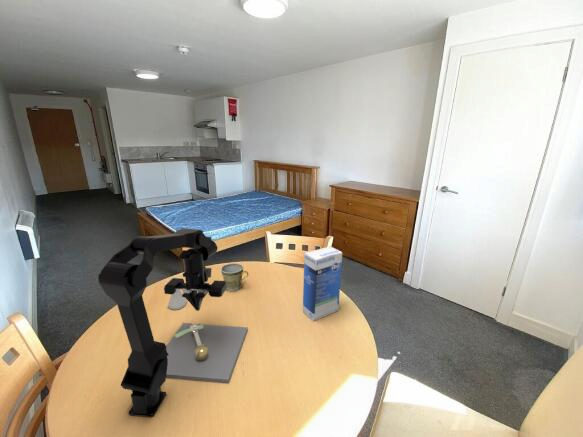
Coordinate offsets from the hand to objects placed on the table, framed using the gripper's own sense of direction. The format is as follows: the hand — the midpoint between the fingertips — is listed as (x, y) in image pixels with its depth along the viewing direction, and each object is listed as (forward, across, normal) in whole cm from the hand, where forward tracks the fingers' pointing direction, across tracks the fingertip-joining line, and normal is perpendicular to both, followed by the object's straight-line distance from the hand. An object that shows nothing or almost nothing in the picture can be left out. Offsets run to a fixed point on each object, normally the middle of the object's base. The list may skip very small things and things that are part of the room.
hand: (198, 309), depth 87 cm
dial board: (+11, -3, +5) cm, 13 cm away
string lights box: (+12, -42, -20) cm, 47 cm away
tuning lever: (+10, -1, +4) cm, 11 cm away
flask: (+12, +18, -18) cm, 28 cm away
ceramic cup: (+12, -2, -34) cm, 36 cm away
